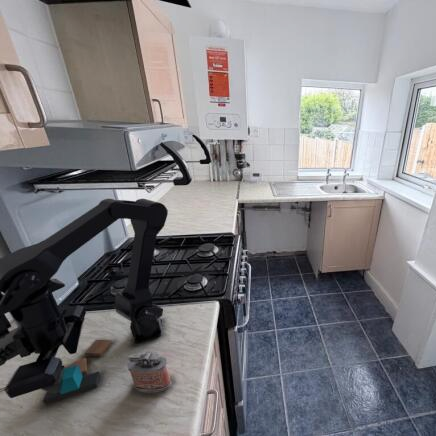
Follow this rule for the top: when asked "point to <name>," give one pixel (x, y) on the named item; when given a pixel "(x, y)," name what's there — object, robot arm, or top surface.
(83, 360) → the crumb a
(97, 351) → the brown flat square block
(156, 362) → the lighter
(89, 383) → the wiper
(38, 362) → the robot arm
